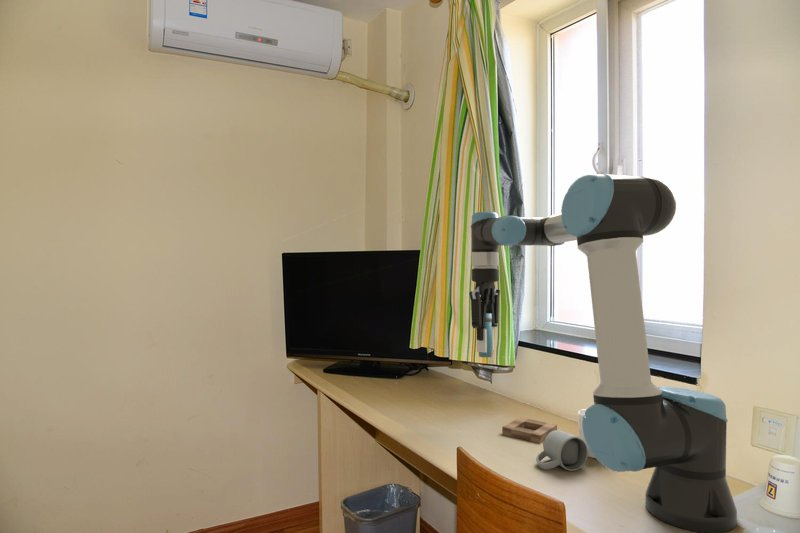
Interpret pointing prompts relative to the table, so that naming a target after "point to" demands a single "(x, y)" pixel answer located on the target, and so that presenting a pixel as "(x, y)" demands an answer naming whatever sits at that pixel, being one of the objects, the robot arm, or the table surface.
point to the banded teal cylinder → (488, 336)
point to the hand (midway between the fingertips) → (485, 350)
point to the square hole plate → (528, 429)
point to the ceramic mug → (563, 451)
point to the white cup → (581, 434)
